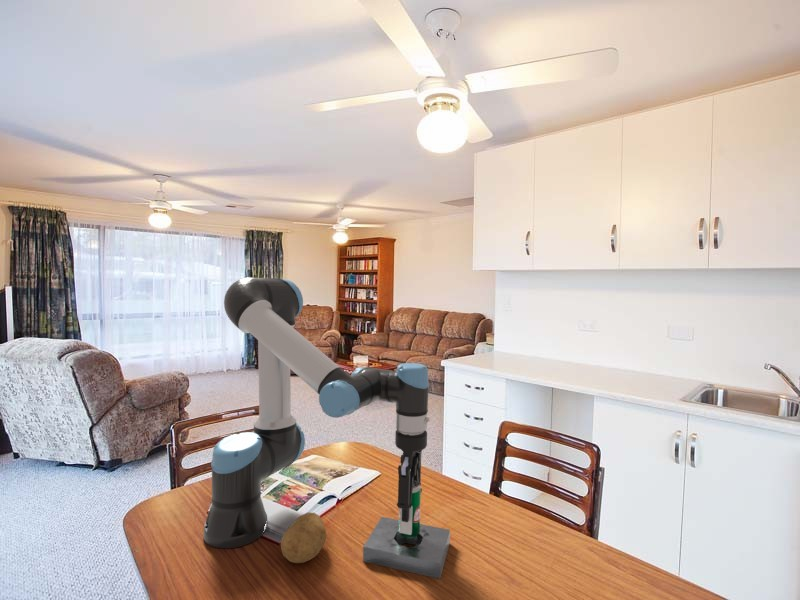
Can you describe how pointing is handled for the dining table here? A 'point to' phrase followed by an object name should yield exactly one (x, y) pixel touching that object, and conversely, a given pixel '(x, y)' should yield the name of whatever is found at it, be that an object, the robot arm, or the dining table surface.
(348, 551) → the dining table surface
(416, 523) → the soda can
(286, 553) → the potato
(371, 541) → the plate
